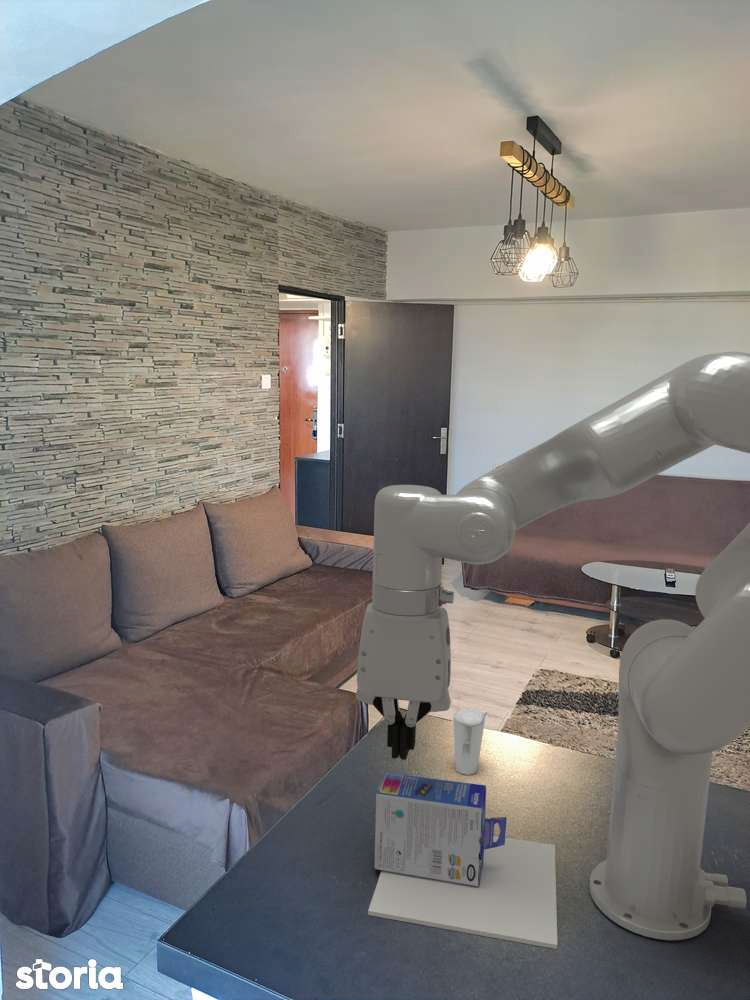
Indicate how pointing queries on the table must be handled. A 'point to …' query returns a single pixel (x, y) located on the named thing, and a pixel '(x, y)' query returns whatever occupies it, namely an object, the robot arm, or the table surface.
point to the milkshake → (468, 739)
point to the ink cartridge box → (433, 828)
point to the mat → (482, 896)
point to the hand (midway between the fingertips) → (400, 753)
